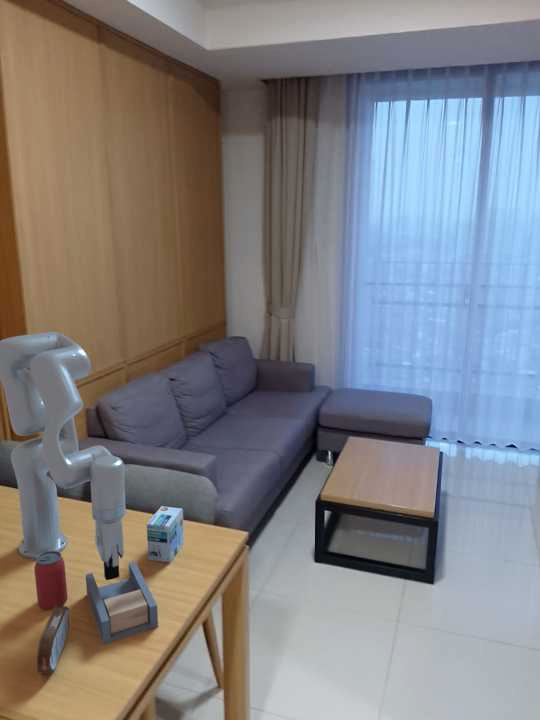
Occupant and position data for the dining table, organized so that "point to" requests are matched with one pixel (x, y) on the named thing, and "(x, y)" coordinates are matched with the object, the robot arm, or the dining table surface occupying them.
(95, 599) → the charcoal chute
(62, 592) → the beer can
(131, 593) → the brown cardboard box
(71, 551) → the dining table surface
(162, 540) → the light bulb box
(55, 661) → the tin
